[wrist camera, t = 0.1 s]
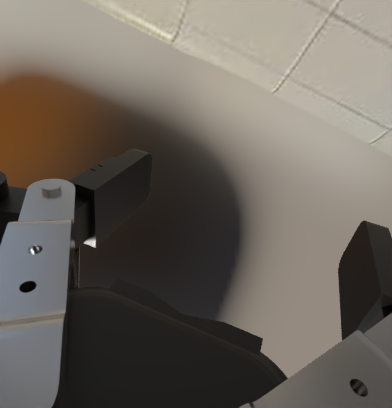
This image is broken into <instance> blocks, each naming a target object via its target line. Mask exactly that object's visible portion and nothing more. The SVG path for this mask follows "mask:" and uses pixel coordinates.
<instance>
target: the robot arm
mask: <svg viewBox="0 0 392 408" xmlns="http://www.w3.org/2000/svg"><path fill="white" fill-rule="evenodd" d="M151 172H152V155H151V154H149V153H145V152H143V151H139V150H136V149H131V150H130V151H128V152H126V153H124V154H123V155H121V156H117V157H113V158H109V159H106V160H104V161H102V162H100V163H99V164H98V165H95V166H94V167H92V168H90V170H89V169H88V170H86V171H85V172H83V173H81V174H80V175H78V176H76V177H74V178H73V179H71V180H69V181H66V180H61V179H45V180H41V181H38V182H35V183H34V184H32V185H30V186H29V187H28V189H24V188H17V187H9V186H8V184H7V179H6V175H5V174H4V173H3V172H1V171H0V408H392V238H391V234H390V232H389V229H388V228H386V227H383V226H380V225H377V224H373V223H370V222H367V221H362V222H361V223H360V225H359V227H358V228H357V230H356V232H355V234H354V235H353V237H352V239H351V241H350V242H349V244H348V246H347V248H346V250H345V251H344V253H343V255H342V257H341V260H340V263H339V268H338V274H339V275H338V276H339V293H340V310H341V329H342V341H341V342H340V343H338V344H337V345H335V346H334V347H332V348H331V349H330V350H328V351H327V352H326V353H324V354H323V355H321V356H320V357H318V358H317V359H315V360H314V361H313V362H311V363H310V364H308V365H307V366H305V367H304V368H303V369H302V370H300V371H298V372H297V373H295V374H294V375H293V376H291V377H290V378H287V377H286V376H285V374H284V373H283V372H282V371H281V370H280V369H279V368H278V366H277V365H276V364H275V363H274V362H272V361H271V360H270V359H269V358H268V357H267V356H265V355H264V354H263V353H261V352H260V350H261V345H262V340H263V339H262V338H260V337H258V336H255V335H253V334H250V333H248V332H246V331H244V330H241V329H239V328H236V327H234V326H232V325H229V324H227V323H225V322H219V321H214V320H209V319H203V318H198V317H192V316H186V315H183V314H181V313H179V312H178V311H177V310H175V309H174V308H173V307H171V306H170V305H168V304H167V303H165V302H164V301H163V300H162V299H160V298H159V297H158V296H156V295H155V294H153V293H152V292H151V291H148V290H146V289H143V288H141V287H139V286H136V285H134V284H131V283H129V282H127V281H124V280H122V279H119V278H118V279H117V280H116V281H115V283H114V284H113V285H112V286H111V287H110V288H108V287H84V288H79V255H80V253H79V246H81V244H83V243H85V244H88V245H90V246H92V247H95V248H96V247H97V246H98V245H99V244H101V242H103V241H104V240H105V239H106V238H107V237H108V236H109V235H110V234H111V233H112V232H113V231H114V230H115V229H116V228H118V227H119V226H120V225H121V224H122V223H123V222H124V221H125V220H126V219H127V218H128V217H129V216H130V215H131V214H133V213H134V212H135V211H136V210H137V209H138V208H139V207H140V206H141V205H142V204H143V203H144V202H145V201H146V199H147V197H148V195H149V191H150V183H151Z"/></svg>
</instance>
